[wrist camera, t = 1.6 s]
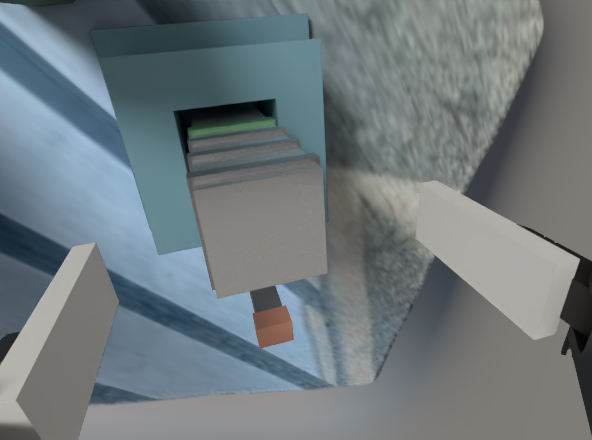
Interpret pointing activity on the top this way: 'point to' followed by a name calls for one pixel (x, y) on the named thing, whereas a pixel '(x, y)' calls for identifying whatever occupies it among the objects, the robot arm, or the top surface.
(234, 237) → the column
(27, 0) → the bottle
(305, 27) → the stand base
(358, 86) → the top surface
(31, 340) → the robot arm
